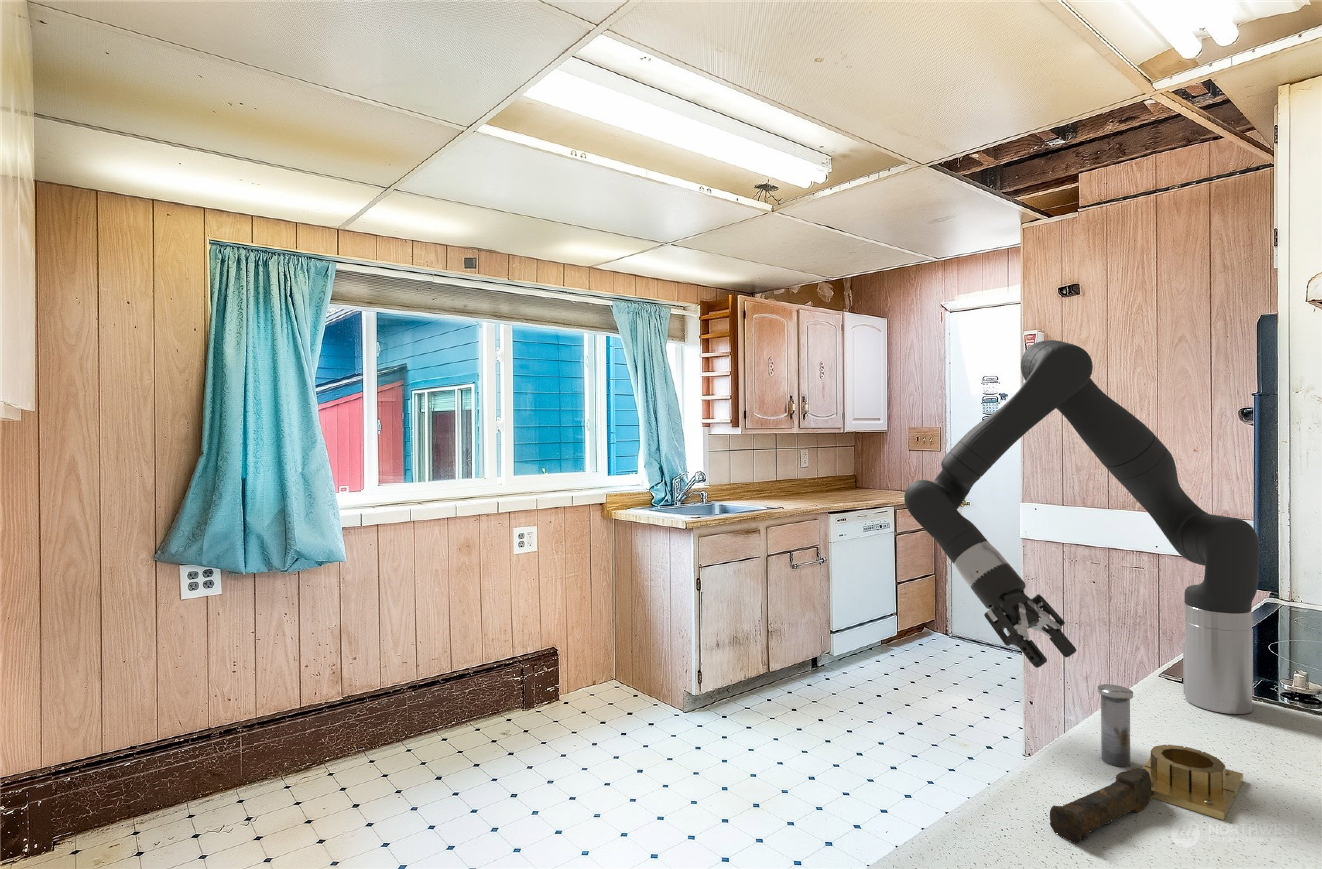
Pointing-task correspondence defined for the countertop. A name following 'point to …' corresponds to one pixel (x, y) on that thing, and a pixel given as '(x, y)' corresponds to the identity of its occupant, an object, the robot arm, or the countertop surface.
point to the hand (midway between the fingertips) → (1057, 659)
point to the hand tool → (1102, 805)
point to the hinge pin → (1115, 724)
